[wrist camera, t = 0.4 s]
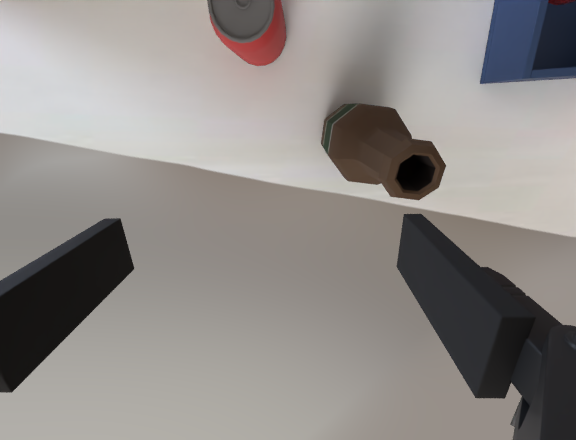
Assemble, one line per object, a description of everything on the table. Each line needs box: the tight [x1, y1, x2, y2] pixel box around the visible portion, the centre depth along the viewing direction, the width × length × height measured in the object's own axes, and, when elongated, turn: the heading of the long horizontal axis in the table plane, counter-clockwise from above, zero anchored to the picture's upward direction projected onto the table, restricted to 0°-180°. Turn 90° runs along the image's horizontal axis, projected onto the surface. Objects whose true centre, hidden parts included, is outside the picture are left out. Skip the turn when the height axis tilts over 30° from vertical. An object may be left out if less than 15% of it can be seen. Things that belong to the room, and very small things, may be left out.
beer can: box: [207, 0, 286, 66], centre depth 29 cm, size 7×7×12 cm
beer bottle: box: [321, 104, 446, 200], centre depth 27 cm, size 8×8×24 cm
